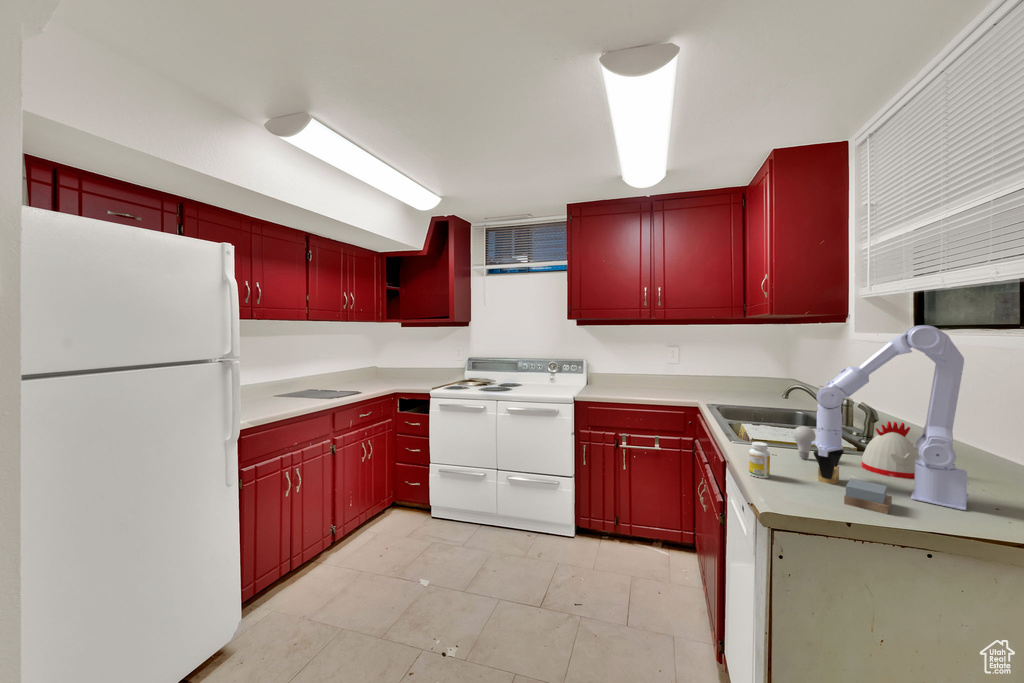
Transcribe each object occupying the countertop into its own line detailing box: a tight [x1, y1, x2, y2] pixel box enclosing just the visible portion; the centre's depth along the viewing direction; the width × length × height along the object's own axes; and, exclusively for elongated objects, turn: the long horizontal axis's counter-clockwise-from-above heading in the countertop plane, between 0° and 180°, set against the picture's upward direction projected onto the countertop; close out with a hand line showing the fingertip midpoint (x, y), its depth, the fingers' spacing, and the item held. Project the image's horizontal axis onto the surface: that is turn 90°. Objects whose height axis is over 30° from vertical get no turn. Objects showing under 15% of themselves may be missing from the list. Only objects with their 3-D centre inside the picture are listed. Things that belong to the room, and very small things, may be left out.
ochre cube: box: [817, 466, 840, 485], centre depth 119 cm, size 4×4×4 cm
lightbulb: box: [792, 425, 817, 460], centre depth 138 cm, size 6×6×11 cm
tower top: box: [845, 478, 887, 504], centre depth 103 cm, size 7×7×2 cm
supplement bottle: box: [748, 441, 771, 479], centre depth 124 cm, size 5×5×10 cm
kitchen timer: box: [861, 420, 920, 480], centre depth 126 cm, size 14×14×15 cm
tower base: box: [843, 494, 893, 515], centre depth 103 cm, size 8×8×2 cm
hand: (828, 476), depth 119 cm, fingers closed on ochre cube, 4 cm apart
